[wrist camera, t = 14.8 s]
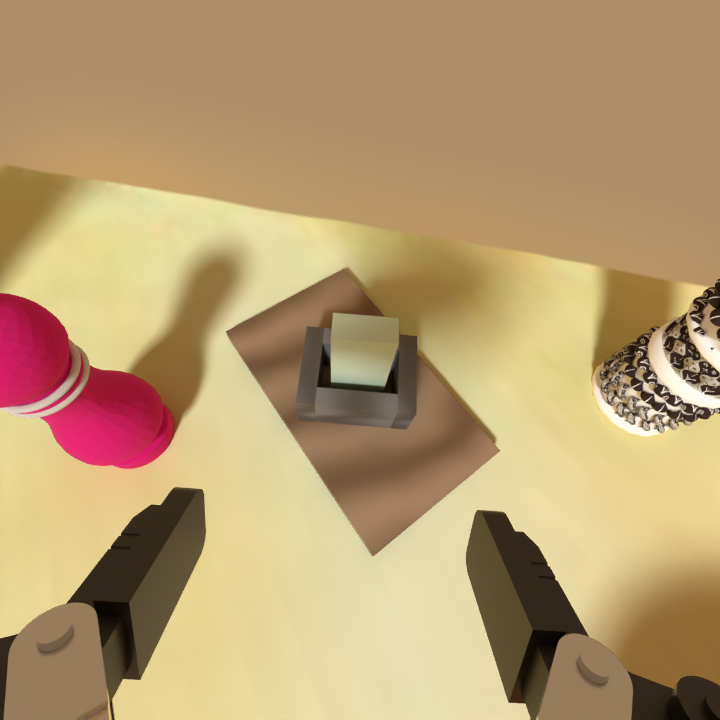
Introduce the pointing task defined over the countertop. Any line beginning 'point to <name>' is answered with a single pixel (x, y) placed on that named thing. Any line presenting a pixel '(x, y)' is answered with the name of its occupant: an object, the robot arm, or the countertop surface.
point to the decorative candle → (665, 373)
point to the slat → (362, 351)
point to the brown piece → (362, 414)
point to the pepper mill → (76, 392)
